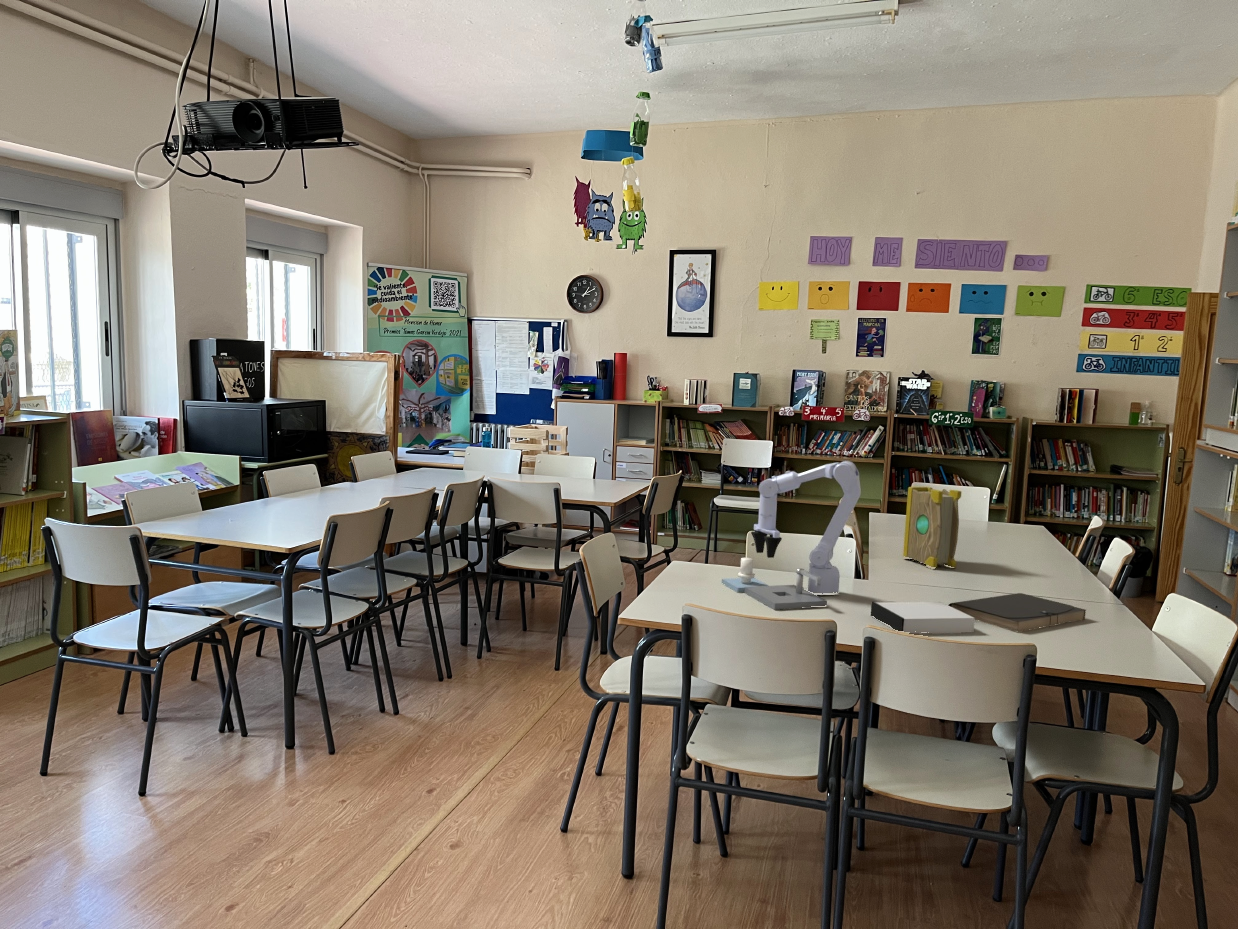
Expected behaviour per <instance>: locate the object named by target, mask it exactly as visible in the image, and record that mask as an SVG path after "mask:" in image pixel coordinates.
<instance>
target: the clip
mask: <svg viewBox="0 0 1238 929" xmlns="http://www.w3.org/2000/svg"><path fill="white" fill-rule="evenodd" d="M795 572H796V574H797V573H799V574H802V575H803V577H807V578H808V579H809V578H811V579H813V580H816V581H815V585H816V586H820V585H821V577H819V576H817V575H815V574H812V573H810V572H809V570H805V569H804V568H799V567H797V568H796V571H795Z"/></svg>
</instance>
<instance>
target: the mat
mask: <svg viewBox="0 0 1238 929" xmlns="http://www.w3.org/2000/svg"><path fill="white" fill-rule="evenodd" d="M722 583H723V584H722ZM721 584H722V585H724V584H725V585H726V587H727V588H729V589H730V590H733V591H735V592H736V593H744V591H745V587H753V586H770V585H769V584H767V583H765V582H763V581H761V580H759V579H758V578H755V577H754V578H752V579H751V583H750V584H744V583H741V578H740V577H736V578H735V577H734V578H721ZM725 585H724V586H725Z"/></svg>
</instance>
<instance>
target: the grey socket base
mask: <svg viewBox="0 0 1238 929" xmlns="http://www.w3.org/2000/svg"><path fill="white" fill-rule="evenodd" d="M803 586H804V575H802V574H799V573H796V584H779V585H769V586H753V587H745V591H744V592H743V593H744V594H746V595H748V596H749V597H751V598H752V599H754V600H756V601H758V603H759V602H760V603H761V604H763V605H765V606H767V608H770V609H772V610H774V611H781V610H780V609H783V610H790V609H789V608H802V607H811V606H825V605H827V606H828V600H826V599H824V598H822V597H821V596H816V595H814V594H812V593H810V592H808V591H806V590H804V587H803ZM802 609H803V608H802Z"/></svg>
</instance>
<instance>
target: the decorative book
mask: <svg viewBox="0 0 1238 929" xmlns="http://www.w3.org/2000/svg"><path fill="white" fill-rule="evenodd" d="M906 498H907V500H906V513H905V522H904V523H905V525H904V526H905V528H904V537H903V538H904V540H903V549H902V550H903V552H902V557H903V556H905V557H909V558H912V559H914V560H917V561H919V562H922V563H925V564H926V565H929V566H931V567H937V568H938V564H942V563H943V565H944V564H945V565H948V566H951V567H955V568H957V561H956V558H955V555H956V549H957V547H958V546H957V545H958V540H959V525H960V518H959V500H960V499H961V498H962V491H961V490H955V489H949V491H948V490H947V489H945V488H944V489H942V490H938V489H934V488H933V487H930V486H909V487H908V488H907V497H906ZM914 560H913V561H914ZM917 561H916V562H917ZM919 562H918V563H919Z"/></svg>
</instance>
